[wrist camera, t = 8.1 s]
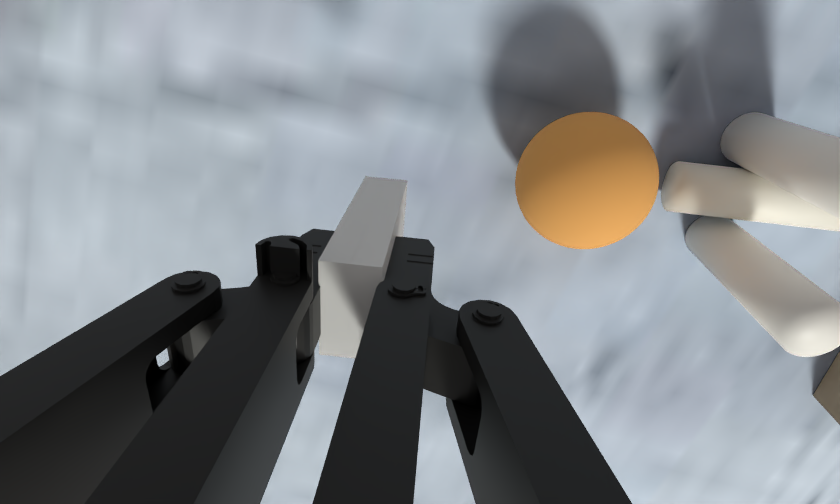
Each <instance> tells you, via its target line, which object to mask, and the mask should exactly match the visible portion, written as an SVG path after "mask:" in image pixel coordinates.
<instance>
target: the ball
mask: <svg viewBox="0 0 840 504" xmlns="http://www.w3.org/2000/svg"><path fill="white" fill-rule="evenodd" d="M658 186H659V168H658V163H657V159H656V156H655V153H654V151H653V149H652V147H651V145H650V143H649V142H648V140H647V139H646V138H645V136H644V135H643V134H642V133H641V132H640V131H639V130H638V129H637V128H635V127H634V126H633V125H632V124H630V123H629V122H627V121H625V120H623V119H621V118H619V117H616V116H614V115H610V114H607V113H601V112H581V113H575V114H571V115H567V116H565V117H562V118H560V119H557V120H555V121H554V122H552V123H550V124H548V125H547V126H546V127H544V128H543V129H542V130H540V131H539V132H538V133H537V134H536V135H535V136H534V137H533V139H532V140H531V141H530V142H529V143H528V145H527V147H526V148H525V150H524V152H523V154H522V156H521V158H520V160H519V163H518V167H517V171H516V180H515V187H516V196H517V201H518V204H519V207H520V209H521V211H522V213H523V215H524V217H525V219H526V220H527V221H528V223H529V224H530V225H531V226H532V227H533V228H534V229H535V230H536V231H537V232H538V233H539V234H540V235H542V236H543V237H544V238H546V239H548V240H549V241H551V242H554V243H556V244H559V245H561V246H565V247H568V248H575V249H593V248H599V247H603V246H606V245H609V244H612V243H615V242H617V241H619V240H621V239H623V238H624V237H626V236H627V235H629V234H630V233H631V232H633V231H634V230H635V229H636V228H637V227H638V226H639V225H640V224H641V223H642V222H643V220H644V219H645V218H646V217H647V215H648V213H649V212H650V210H651V208H652V206H653V204H654V202H655V199H656V195H657V191H658Z"/></svg>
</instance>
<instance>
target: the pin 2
mask: <svg viewBox="0 0 840 504" xmlns="http://www.w3.org/2000/svg"><path fill="white" fill-rule="evenodd" d="M685 243H686V246H687V247H688V249H689V250H690V251H691V252H692V253H693V254H694V255H695V256H696V257H697V258H698V259H699V261H700V262H701V263H702V264H703V265H704V266H705V267H706V268H707V269H708V270H709V271H710V272H711V273H712V274H713V275H714V276H715V277H716V278H717V279H718V280H719V281H720V283H721V284H722V285H723V286H724V287H725V288H726V289H727V290H728V291H729V292H730V293H731V294H732V295H733V296H734V297H735V298H736V299H737V300H738V301H739V302H740V303H741V305H742V306H743V307H744V308H745V309H746V310H747V311H748V312H749V313H750V314H751V315H752V316H753V317H754V318H755V319H756V320H757V321H758V322H759V323H760V324H761V325H762V327H763V328H764V329H765V330H766V331H767V332H768V333H769V334H770V335H771V336H772V337H773V338H774V339H775V340H776V341H777V342H778V343H779V344H780V345H781V346H782V347H783V349H785V350H786V351H787V352H789V353H790V354H793V355H796V356H800V357H813V356H818V355H822V354H825V353H828V352H830V351H832V350H834V349H835V348H837V347H839V346H840V303H839V302H838V301H836V300H835V299H834V298H832V297H831V296H830V295H829V294H827V293H826V292H825V291H823V290H822V289H821V288H819V287H818V286H817V285H815V284H814V283H813V282H812V281H810V280H809V279H808V278H806V277H805V276H804V275H802V274H801V273H800V272H798V271H797V270H796V269H795V268H793V267H792V266H791V265H789V264H788V263H787V262H785V261H784V260H783V259H781V258H780V257H779V256H778V255H776V254H775V253H774V252H772V251H771V250H770V249H768V248H767V247H766V246H764V245H763V244H762V243H761V242H759V241H758V240H757V239H755V238H754V237H753V236H751V235H750V234H749V233H748V232H746V231H745V230H744V229H742V228H741V227H740V226H738V225H737V224H736V223H734V222H733V221H732V220H731V219H729V218H721V217H712V216H703V217H701V218H699V219H697V220H696V221H694V222H693V223H692V224H691V225H690V227H689V228H688V230H687V232H686V235H685Z"/></svg>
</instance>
